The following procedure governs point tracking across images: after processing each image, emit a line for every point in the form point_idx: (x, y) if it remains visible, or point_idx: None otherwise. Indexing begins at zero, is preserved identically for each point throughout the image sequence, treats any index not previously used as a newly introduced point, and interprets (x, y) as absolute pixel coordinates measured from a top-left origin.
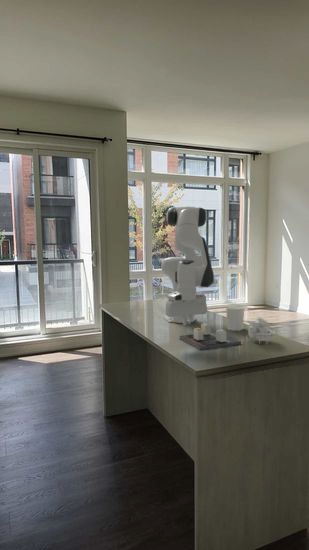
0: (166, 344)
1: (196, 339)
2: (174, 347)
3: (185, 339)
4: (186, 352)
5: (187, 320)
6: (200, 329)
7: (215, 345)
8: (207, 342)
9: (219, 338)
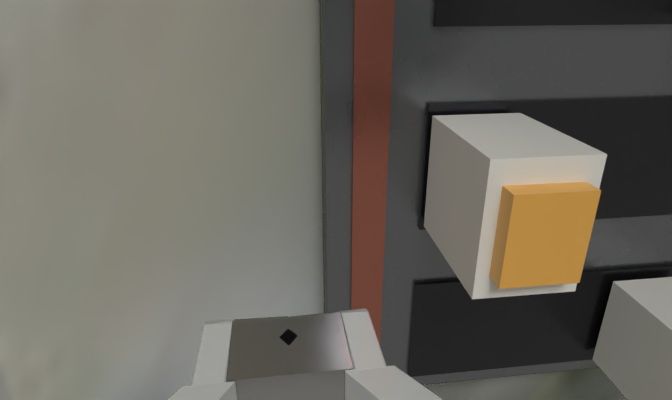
0: (9, 49)
1: (427, 196)
2: (92, 214)
3: (323, 60)
4: (169, 391)
5: (347, 373)
6: (546, 279)
7: (505, 370)
8: (482, 308)
9: (620, 363)
